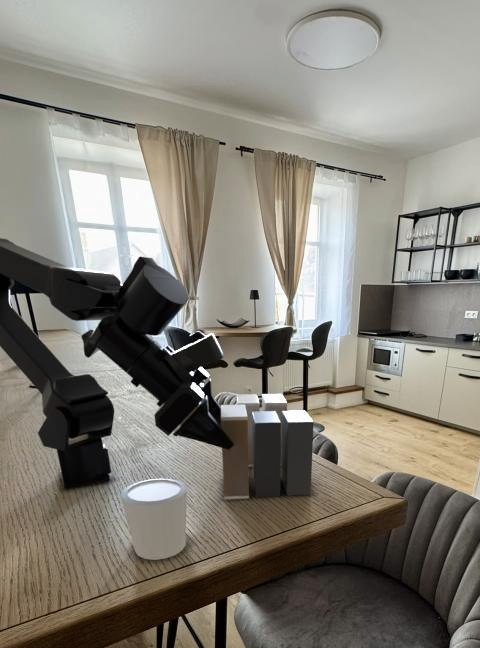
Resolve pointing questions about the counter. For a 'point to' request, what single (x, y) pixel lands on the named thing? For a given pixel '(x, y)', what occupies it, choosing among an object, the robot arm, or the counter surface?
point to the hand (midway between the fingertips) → (231, 436)
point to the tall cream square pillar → (235, 452)
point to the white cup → (156, 517)
